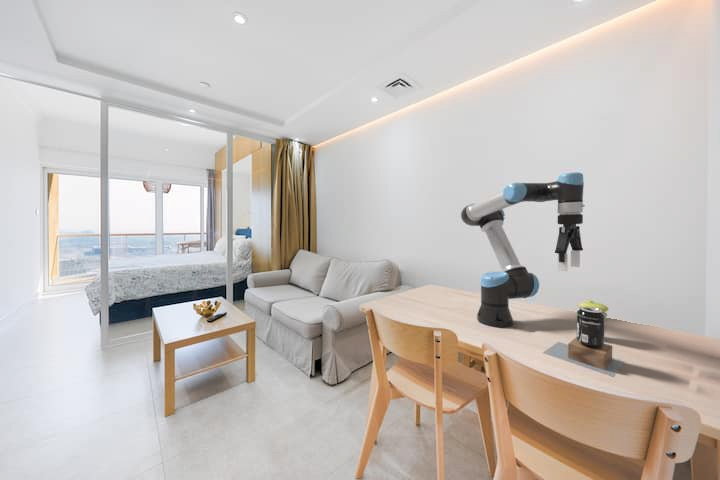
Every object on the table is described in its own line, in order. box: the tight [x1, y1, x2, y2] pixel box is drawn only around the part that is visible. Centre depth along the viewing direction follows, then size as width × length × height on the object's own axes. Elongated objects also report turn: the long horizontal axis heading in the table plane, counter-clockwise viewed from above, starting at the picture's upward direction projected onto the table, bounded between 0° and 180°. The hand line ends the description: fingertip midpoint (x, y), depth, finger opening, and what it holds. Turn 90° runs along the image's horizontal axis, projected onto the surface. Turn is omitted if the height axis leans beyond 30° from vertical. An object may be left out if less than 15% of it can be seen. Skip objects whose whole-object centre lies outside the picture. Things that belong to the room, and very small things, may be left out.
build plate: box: [542, 341, 626, 378], centre depth 87 cm, size 18×14×1 cm
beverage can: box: [576, 306, 606, 348], centre depth 84 cm, size 7×7×12 cm
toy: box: [578, 300, 609, 322], centre depth 103 cm, size 8×9×15 cm
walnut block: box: [567, 336, 613, 370], centre depth 85 cm, size 9×9×5 cm
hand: (569, 268), depth 100 cm, fingers open, 13 cm apart
